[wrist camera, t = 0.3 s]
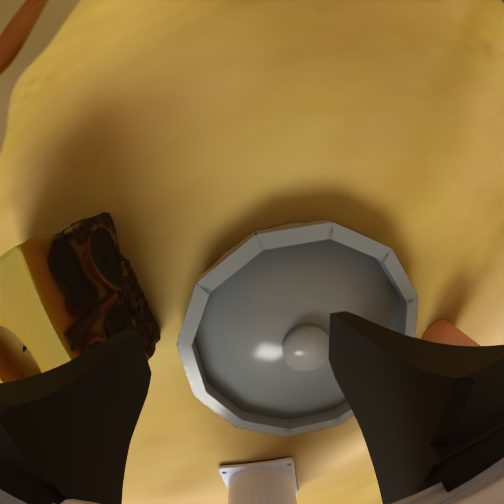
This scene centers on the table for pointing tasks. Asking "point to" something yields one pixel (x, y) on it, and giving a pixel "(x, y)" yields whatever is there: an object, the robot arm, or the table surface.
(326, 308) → the groove tray
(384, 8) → the table surface
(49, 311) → the yellow black patterned cube
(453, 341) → the bead
